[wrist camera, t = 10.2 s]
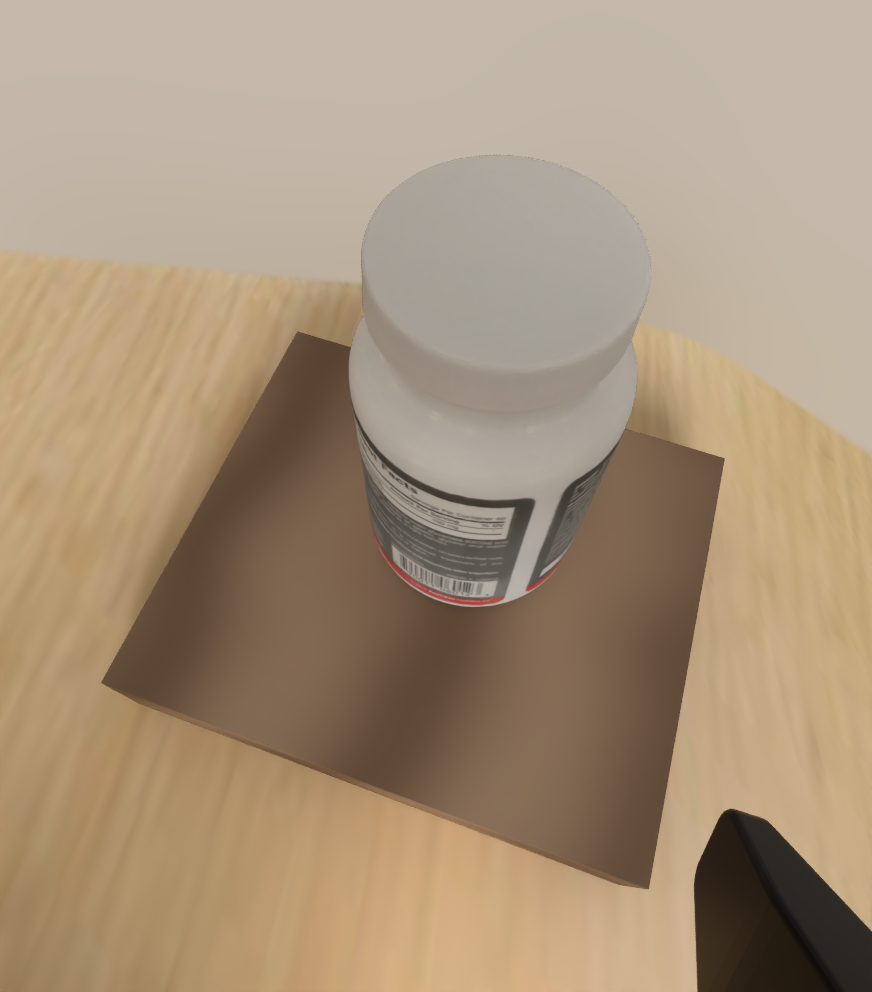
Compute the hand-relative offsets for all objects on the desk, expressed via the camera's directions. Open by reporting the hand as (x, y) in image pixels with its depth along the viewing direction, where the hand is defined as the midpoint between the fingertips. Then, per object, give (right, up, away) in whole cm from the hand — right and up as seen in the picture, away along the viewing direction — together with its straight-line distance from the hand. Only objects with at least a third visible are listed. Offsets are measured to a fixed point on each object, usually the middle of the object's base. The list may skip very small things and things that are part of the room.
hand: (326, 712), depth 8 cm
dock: (+1, 0, +14) cm, 14 cm away
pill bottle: (+2, +2, +12) cm, 12 cm away
